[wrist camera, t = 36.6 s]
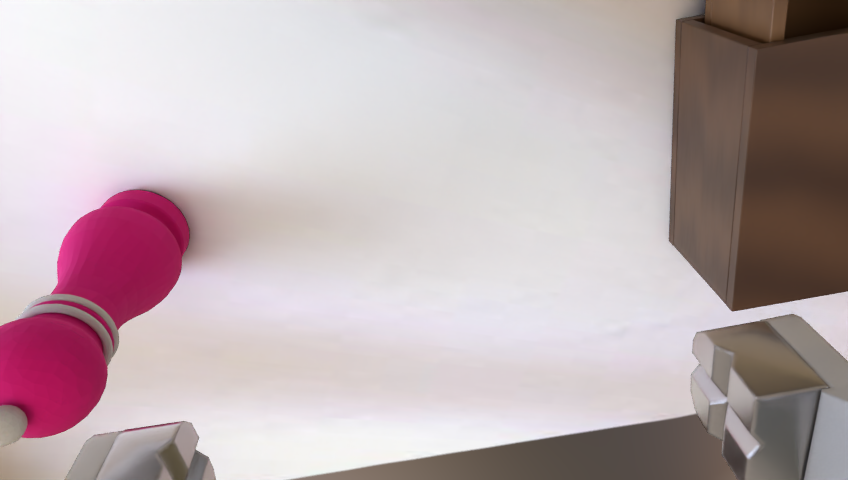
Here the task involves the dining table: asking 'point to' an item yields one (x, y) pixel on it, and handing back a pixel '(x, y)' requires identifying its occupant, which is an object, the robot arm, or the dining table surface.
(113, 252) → the pepper mill
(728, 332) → the robot arm
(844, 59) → the cabinet
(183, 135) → the dining table surface
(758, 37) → the drawer
